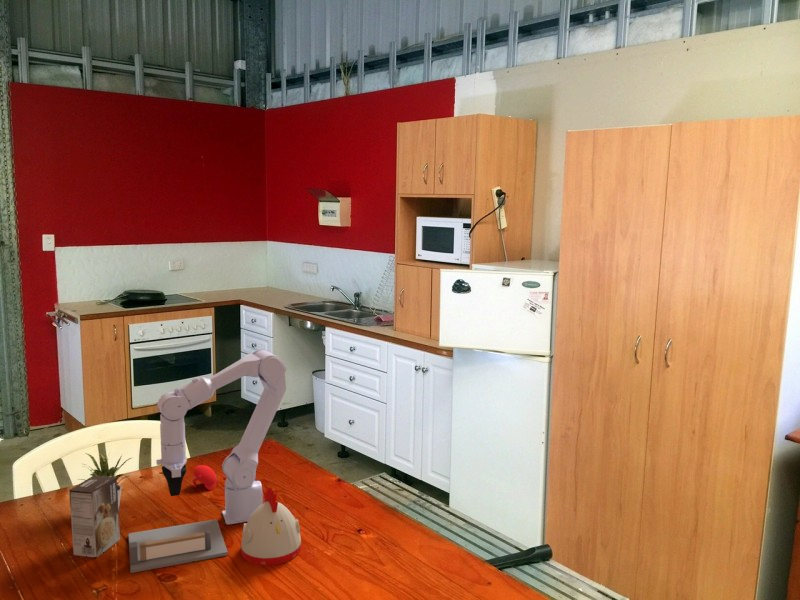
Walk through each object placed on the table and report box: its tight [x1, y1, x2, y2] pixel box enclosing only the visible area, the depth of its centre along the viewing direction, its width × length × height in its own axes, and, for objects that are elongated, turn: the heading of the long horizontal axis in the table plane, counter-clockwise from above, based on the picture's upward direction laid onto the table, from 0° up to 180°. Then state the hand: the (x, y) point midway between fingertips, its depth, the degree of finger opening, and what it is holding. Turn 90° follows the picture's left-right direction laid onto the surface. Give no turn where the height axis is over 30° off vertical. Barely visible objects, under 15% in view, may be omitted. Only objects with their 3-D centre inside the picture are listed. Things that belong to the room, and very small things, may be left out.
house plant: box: [77, 452, 134, 510], centre depth 178 cm, size 14×14×16 cm
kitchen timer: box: [240, 487, 302, 566], centre depth 160 cm, size 14×14×15 cm
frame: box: [128, 518, 229, 574], centre depth 162 cm, size 21×18×5 cm
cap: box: [192, 464, 218, 491], centre depth 196 cm, size 8×6×6 cm
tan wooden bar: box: [140, 532, 205, 561], centre depth 156 cm, size 14×1×4 cm, turn 113°
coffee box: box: [68, 475, 121, 558], centre depth 160 cm, size 9×6×16 cm
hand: (175, 494), depth 168 cm, fingers closed
